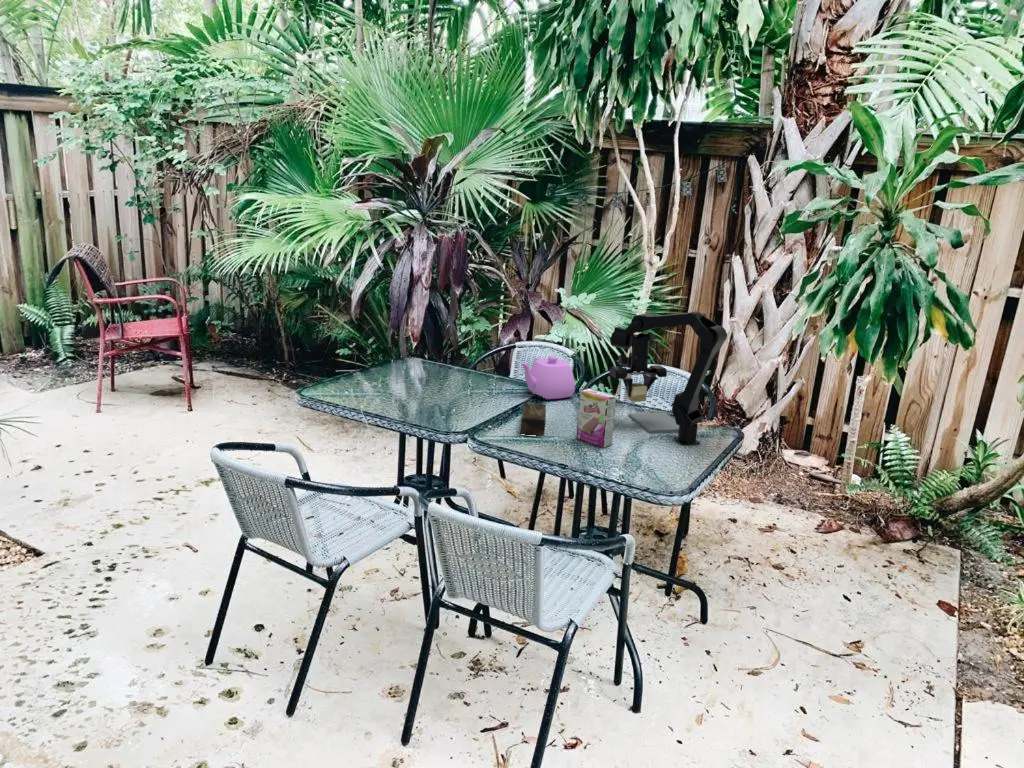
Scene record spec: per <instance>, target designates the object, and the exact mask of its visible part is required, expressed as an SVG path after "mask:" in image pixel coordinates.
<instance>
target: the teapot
mask: <svg viewBox="0 0 1024 768" xmlns="http://www.w3.org/2000/svg"><path fill="white" fill-rule="evenodd" d="M519 365H521V366H522V367H523V369H524V370H523V371H524V380H525V382H526V384H527V385H526V386H527V387H528V390H529V392H530V391H531V392H532V393H531V392H530V393H531V394H533V393H534V394H538V395H541V396H542V397H543V399H544V398H545V399H544V400H556V399H565V398H570V397H572V396H573V394H574V392H575V390H576V382H575V377H574V373H573V370H572V367H571V365H570V364H569V363H568V362H566V361H564V360H561V359H558V356H556V355H555V356H553V355H551V356H547V358H541V357H536V358H534V363H533V364H532V365H531V367H530V365H529V364H528V363H526V362H519ZM534 394H533V395H534ZM542 397H541V398H542Z"/></svg>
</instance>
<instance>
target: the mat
mask: <svg viewBox="0 0 1024 768" xmlns="http://www.w3.org/2000/svg"><path fill="white" fill-rule="evenodd" d="M628 418H630V419H631V420H632V421H633V422H635V423H636V424H637V425H639V426H640V427H641V428H642V429H644V430H645V431H646V432H648V433H649V434H663V433H678V431H679V425H677V424H676V421H675V418H673V417H672V416H671V415H669V414H668V413H666V412H665V411H663V412H662V411H661V412H638V413H637V412H636V413H628Z"/></svg>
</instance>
